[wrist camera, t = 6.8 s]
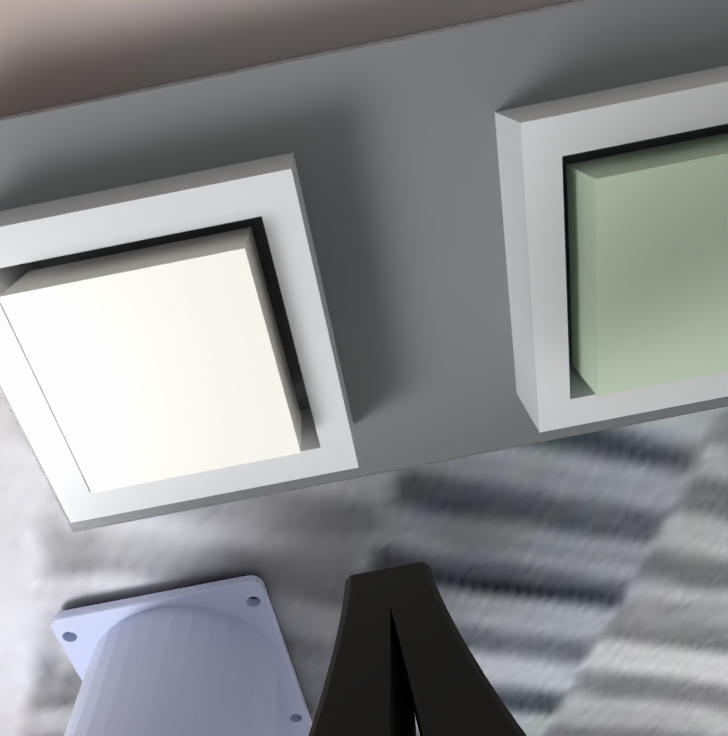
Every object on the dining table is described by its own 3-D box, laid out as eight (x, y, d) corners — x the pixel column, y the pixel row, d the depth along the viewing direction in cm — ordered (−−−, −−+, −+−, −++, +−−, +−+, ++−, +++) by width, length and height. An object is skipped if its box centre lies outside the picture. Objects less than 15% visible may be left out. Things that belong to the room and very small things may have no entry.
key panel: (754, 344, 21) (872, 425, 17) (102, 471, 22) (49, 583, 17) (800, -45, 16) (985, -76, 12) (-55, 128, 16) (-188, 162, 12)
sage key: (768, 327, 16) (812, 354, 15) (572, 365, 16) (597, 396, 15) (794, 119, 14) (849, 128, 13) (566, 164, 14) (595, 179, 13)
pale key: (301, 416, 16) (300, 452, 15) (110, 453, 17) (91, 493, 15) (250, 226, 14) (244, 248, 13) (28, 271, 14) (-2, 296, 13)
